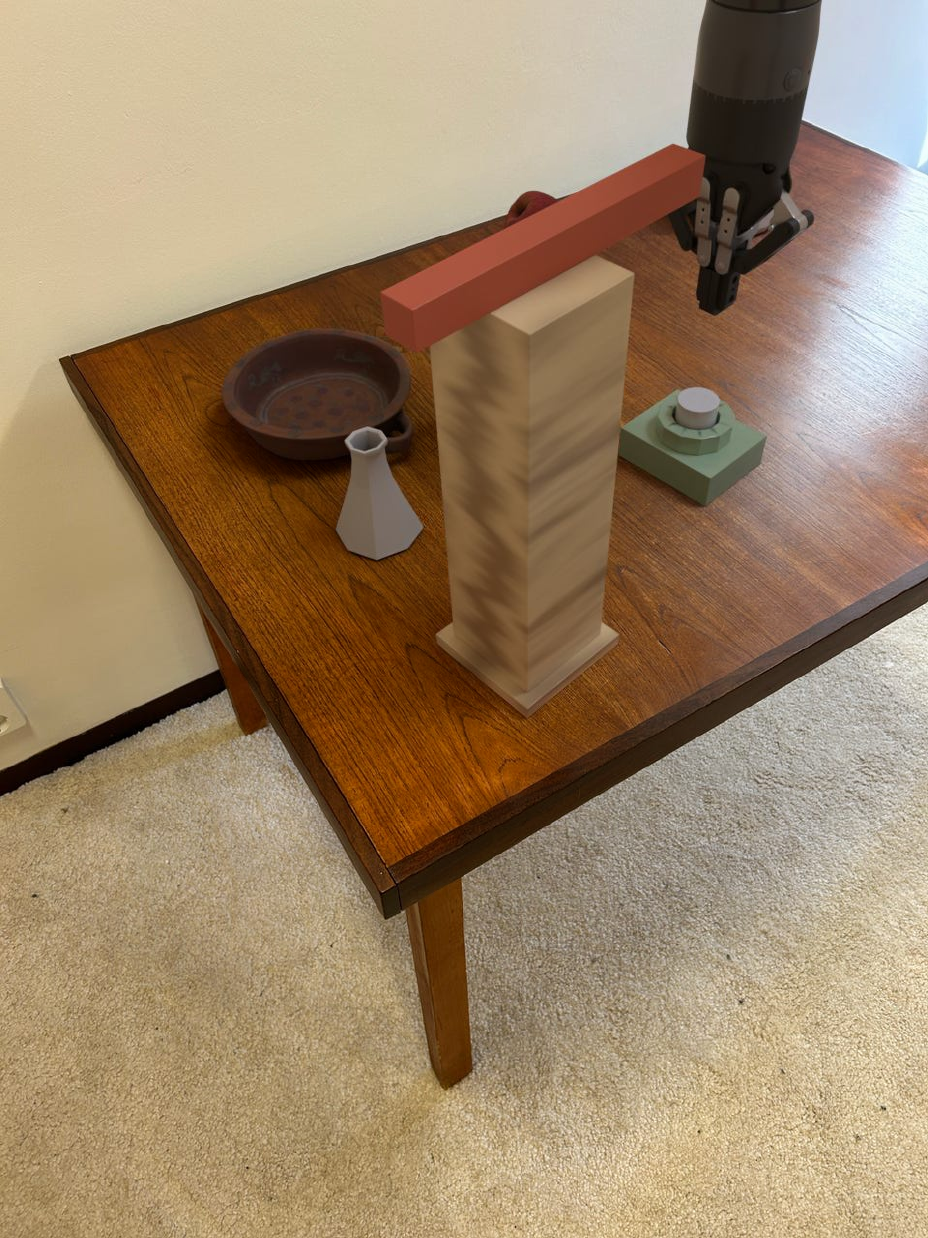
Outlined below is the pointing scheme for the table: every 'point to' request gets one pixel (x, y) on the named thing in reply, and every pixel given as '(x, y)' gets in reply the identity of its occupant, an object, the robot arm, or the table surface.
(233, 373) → the dish
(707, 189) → the robot arm
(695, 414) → the grey push button
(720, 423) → the green button base
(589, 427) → the stand
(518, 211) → the apple
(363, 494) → the flask
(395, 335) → the rod
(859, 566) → the table surface
